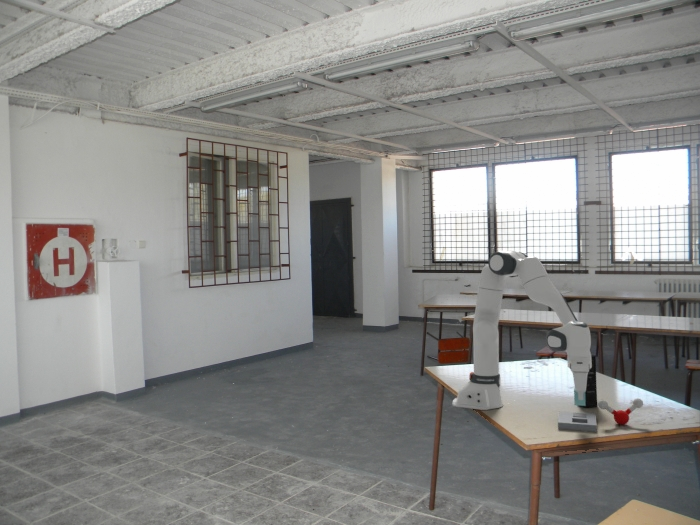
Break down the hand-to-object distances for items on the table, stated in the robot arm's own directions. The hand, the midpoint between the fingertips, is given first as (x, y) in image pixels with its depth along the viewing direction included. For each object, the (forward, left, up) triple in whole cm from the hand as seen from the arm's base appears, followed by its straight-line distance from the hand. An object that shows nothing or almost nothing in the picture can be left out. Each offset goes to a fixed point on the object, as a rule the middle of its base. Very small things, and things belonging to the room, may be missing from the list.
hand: (580, 397), depth 231 cm
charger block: (0, 0, -3) cm, 3 cm away
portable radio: (+3, +31, -12) cm, 33 cm away
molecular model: (+15, +7, -12) cm, 20 cm away
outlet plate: (-1, +3, -12) cm, 12 cm away
